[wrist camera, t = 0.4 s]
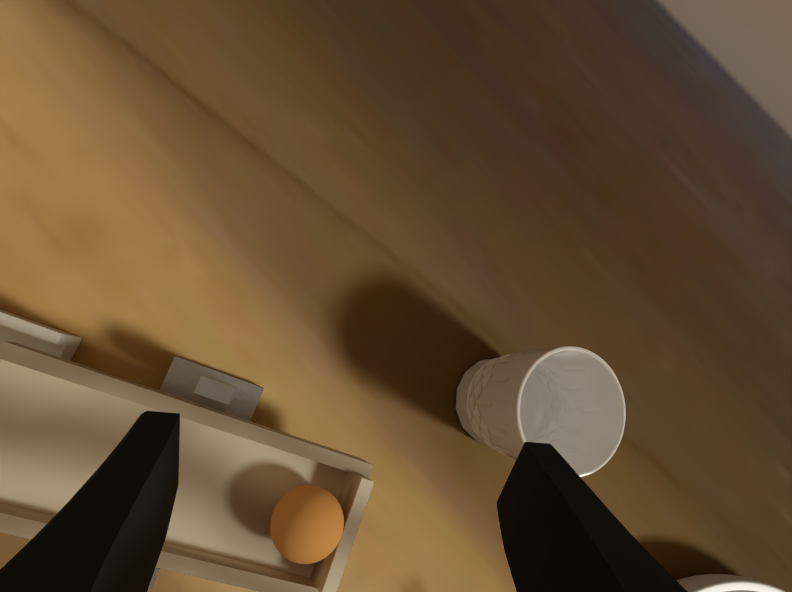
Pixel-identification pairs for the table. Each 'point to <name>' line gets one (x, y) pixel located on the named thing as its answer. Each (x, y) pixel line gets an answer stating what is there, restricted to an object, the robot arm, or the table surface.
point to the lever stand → (210, 393)
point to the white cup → (545, 405)
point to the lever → (198, 471)
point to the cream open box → (37, 336)
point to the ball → (307, 524)
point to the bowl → (724, 584)
